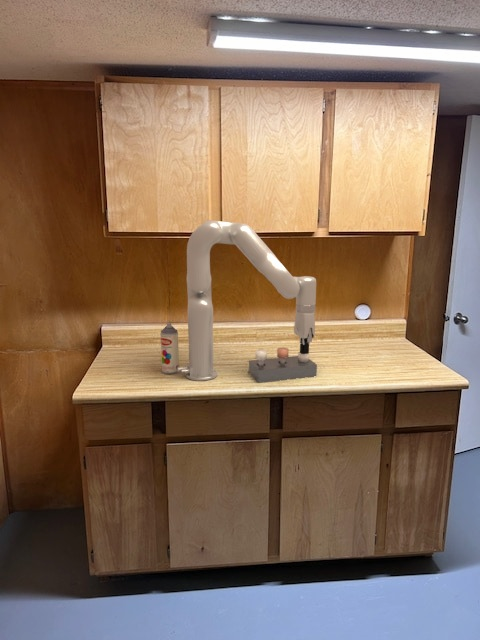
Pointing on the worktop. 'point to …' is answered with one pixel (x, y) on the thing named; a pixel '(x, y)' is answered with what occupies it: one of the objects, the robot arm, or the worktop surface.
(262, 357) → the near knob
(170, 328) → the aerosol can
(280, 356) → the middle knob
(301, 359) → the far knob
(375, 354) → the worktop surface
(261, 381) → the knob panel
